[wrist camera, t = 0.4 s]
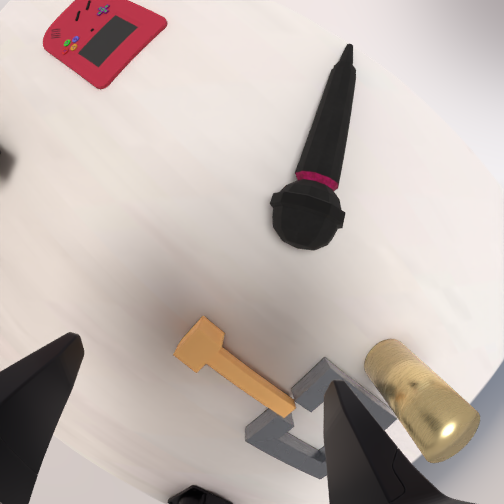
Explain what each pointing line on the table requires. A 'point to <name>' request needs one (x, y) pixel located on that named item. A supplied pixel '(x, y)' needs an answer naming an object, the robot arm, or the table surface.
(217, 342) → the pin
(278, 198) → the microphone
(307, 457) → the frame
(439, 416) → the ball
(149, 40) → the handheld gaming console
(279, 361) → the table surface
